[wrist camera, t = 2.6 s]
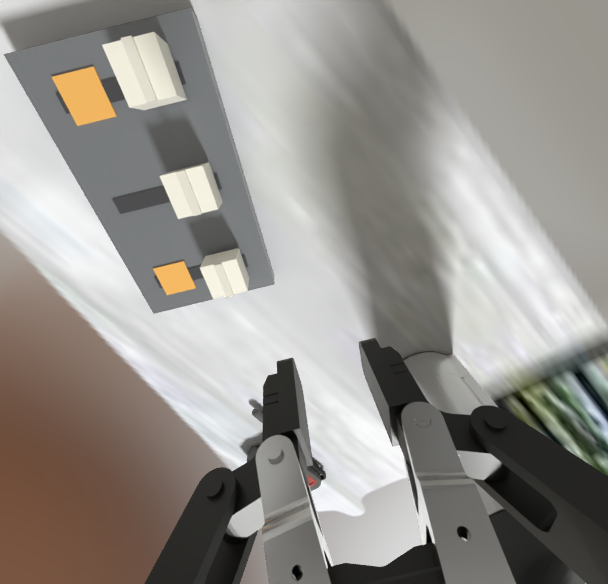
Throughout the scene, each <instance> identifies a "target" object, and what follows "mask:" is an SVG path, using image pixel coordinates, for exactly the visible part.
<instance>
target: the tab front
mask: <svg viewBox="0 0 608 584" xmlns="http://www.w3.org/2000/svg"><path fill="white" fill-rule="evenodd" d="M120 39H121V40H119V41H115V42H111V43H107V44H103V45H102V46H103V49H104V51H105V53H106V56H107V58H108V60H109V62H110V65H111V67H112V69H113V71H114V74H115V76H116V78H117V81H118V83H119V85H120V87H121V90H122V92H123V94H124V97H125V99H126V101H127V103H128V106H129V108H135V109H140V110H147V109H151V108H156V107H160V106H164V105H168V104H172V103H176V102H180V101H184V100H187V98H186V95H185V92H184V89H183V86H182V84H181V81H180V78H179V75H178V72H177V69H176V66H175V64H174V61H173V58H172V55H171V52H170V49H169V46H168V44H167V43H166V42H165V41H164V40H163V39H162V38H161V37H159V36H158V35H157V34H156V33H155V32H151V33H147V34H143V35H139V36H135V37H132V36H127V37H123V38H120Z"/></svg>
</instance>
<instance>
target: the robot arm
mask: <svg viewBox="0 0 608 584" xmlns="http://www.w3.org/2000/svg"><path fill="white" fill-rule="evenodd" d="M359 348H360V355H361V361H362V367H363V372H364V375H365V378H366V381H367V383H368V386H369V388H370V391H371V393H372V396H373V398H374V401H375V403H376V406H377V408H378V411H379V413H380V416H381V418H382V421H383V423H384V426H385V428H386V431H387V433H388V436H389V438H390V441H391V443H392V446H397V445H400V447H401V449H402V452H403V454H404V462H405V467H406V471H407V476H408V480H409V484H410V489H411V493H412V497H413V502H414V506H415V510H416V515H417V519H418V525H419V532H420V538H421V543H422V545H420V546H416V547H413V548H412V549H410V550H409V551H407V552H406V553H404V554H403V555H401V556H400V557H398V558H397V559H395V560H394V561H392V562H391V563H389V564H388V565H386V566H384V567H375V566H367V565H358V564H349V563H344V564H339V565H335V566H333V562H332V559H331V556H330V553H329V550H328V547H327V544H326V541H325V538H324V534H323V531H322V528H321V524H320V521H319V517H318V514H317V511H316V507H315V504H314V501H313V497H312V494H311V490H310V487H309V481H308V472H307V467H308V466H312V465H313V461H312V453H311V446H310V439H309V432H308V424H307V417H306V410H305V403H304V395H303V390H302V385H301V381H300V378H299V375H298V371H297V368H296V365H295V362H294V359H293V358H289V359H285V360H281V361H277V374H273V375H269V376H268V377H267V379H266V381H265V383H264V386H263V397H264V398H263V439H262V444H261V445H260V447H259V448H258V450H257V453H256V455H255V456H254V457H253V458H252V459H251V460H250V461H249V462H247V463H246V464H244V465H242V466H241V467H239V468H237V469H236V470H234V471H231V470H229V469H227V468H223V467H222V468H216V469H214V470H212V471H210V472H209V473H207V474H206V475H205V476H204V477H203V478H202V480H201V481H200V482H199V484H198V486H197V488H196V490H195V491H194V493H193V495H192V497H191V499H190V501H189V503H188V504H187V506H186V508H185V510H184V512H183V514H182V516H181V517H180V519H179V521H178V523H177V525H176V526H175V528H174V530H173V532H172V534H171V536H170V537H169V539H168V541H167V543H166V545H165V547H164V549H163V550H162V552H161V554H160V556H159V558H158V560H157V562H156V563H155V565H154V567H153V569H152V571H151V573H150V575H149V576H148V578H147V580H146V582H145V584H240V581H241V578H242V575H243V572H244V569H245V567H246V564H247V561H248V558H249V555H250V552H251V549H252V546H253V543H254V541H255V537H256V535H257V532H258V530H259V529H260V528H262V527H263V528H262V535H263V543H264V551H265V558H266V565H267V573H268V580H269V584H585V582H586V583H587V584H608V476H606V475H605V474H603V473H602V472H600V471H599V470H597V469H596V468H594V467H592V466H591V465H589V464H588V463H586V462H585V461H583V460H582V459H580V458H579V457H577V456H575V455H574V454H572V453H571V452H569V451H568V450H566V449H565V448H563V447H561V446H560V445H558V444H557V443H555V442H554V441H552V440H551V439H549V438H548V437H546V436H544V435H543V434H541V433H540V432H538V431H537V430H535V429H534V428H532V427H531V426H529V425H527V424H526V423H524V422H523V421H521V420H520V419H518V418H517V417H515V416H513V415H512V414H510V413H509V412H507V411H505V410H504V409H501V408H499V407H497V405H496V404H495V403H494V402H493V401H492V399H491V398H490V397H489V396H488V395H487V393H486V392H485V391H484V390H483V389H482V387H481V386H480V385H479V384H478V383H477V381H476V380H475V379H474V378H473V377H472V376H471V374H470V373H469V372H468V371H467V370H466V368H465V367H464V366H463V365H462V364H461V362H460V361H459V360H458V359H457V358H456V356H455V355H454V354H450V355H443V354H440V353H435V352H424V353H420V354H416V355H413V356H411V357H408V358H407V359H405V360H403V359H402V357H401V356H400V354H399V353H398V352H397V351H395V350H394V349H392V348H391V347H386V348H380V346H379V344H378V342H377V340H376V339H375V338H373V339H368V340H364V341H360V342H359Z"/></svg>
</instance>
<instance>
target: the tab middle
mask: <svg viewBox="0 0 608 584" xmlns="http://www.w3.org/2000/svg"><path fill="white" fill-rule="evenodd" d="M160 179H161V181H162V183H163V186H164V188H165V190H166V192H167V195H168V197H169V199H170V202H171V204H172V206H173V208H174V211H175V213H176V215H177V217H178V219H181V218H185V217H189V216H196V215H201V214H202V213H205V212H209V211H213V210H218V209H219V207H220V206H221V204H222V203H223V201H222V198H221V195H220V192H219V190H218V187H217V184H216V181H215V178H214V175H213V172H212V170H211V167H210V164H209V162H208V163H204V164H200V165H196V166H191V167H187V168H183V169H179V170H175V171H171V172H168V173H166V174H163V175H161V176H160Z"/></svg>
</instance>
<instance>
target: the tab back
mask: <svg viewBox="0 0 608 584" xmlns="http://www.w3.org/2000/svg"><path fill="white" fill-rule="evenodd" d="M200 270H201V272H202V275H203V277H204V279H205V281H206V284H207V286H208V288H209V290H210V293H211V295H212V297H213V299H216V298H220V297H224V296H226V297H231V296H234V294H237V293H241V292H245V291H248V284H249V276H248V273H247V270H246V267H245V264H244V261H243V258H242V256H241V253H240V250H239V248H237V249H233V250H228V251H224V252H220V253H216V254H212V255H208V256H205V258H204V260H203V262H202V264H201V266H200Z"/></svg>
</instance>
